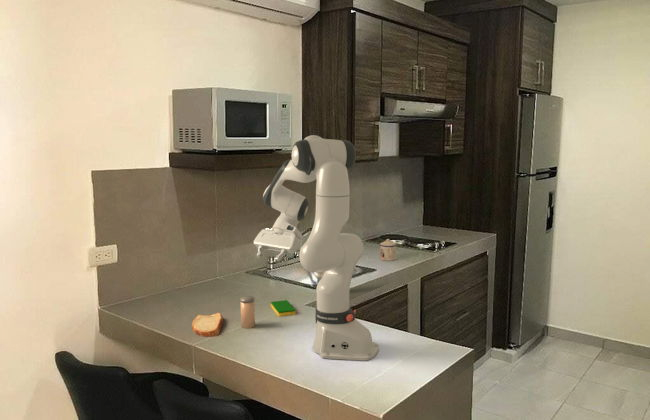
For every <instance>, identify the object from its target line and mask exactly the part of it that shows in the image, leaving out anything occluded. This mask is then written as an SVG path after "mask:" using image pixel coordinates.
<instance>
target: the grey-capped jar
mask: <svg viewBox="0 0 650 420" xmlns="http://www.w3.org/2000/svg"><path fill="white" fill-rule="evenodd" d="M239 303H240V326H241V328H242V329H253V328H255V326H256V316H255V315H256V314H255V311H256V310H255V296H252V295H245V296H241V297H239Z"/></svg>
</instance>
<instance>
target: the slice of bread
mask: <svg viewBox="0 0 650 420" xmlns="http://www.w3.org/2000/svg"><path fill="white" fill-rule="evenodd" d="M223 323H224V318H223V316H222V314H221V313H220V312H217V313H213V314H210V315H206V314H198V315H197V316H195V318H194V319H193V320H192V322H191V329H192V332H193V333H194V334H195V335H196V336H200V337H204V338H213V337H217V336H218V335H219V334H220V332H221V330H222V327H223Z"/></svg>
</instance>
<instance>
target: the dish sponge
mask: <svg viewBox="0 0 650 420" xmlns="http://www.w3.org/2000/svg"><path fill="white" fill-rule="evenodd" d="M270 307H271V309H272V310H273V312H274V313H275V314H276V316H278V317H287V316H295V315H296V309H295V307H294V306H293V305H292V304H291V303H290V302H289V301H288V300H287V299H285V300H277V301H276V300H275V301H270Z"/></svg>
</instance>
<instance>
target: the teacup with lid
mask: <svg viewBox="0 0 650 420" xmlns="http://www.w3.org/2000/svg"><path fill="white" fill-rule="evenodd" d="M379 246H380V250H379V251H380V252H379V253H380V254H379V255H380V260H381V261H385V262H392V261H395V260H396V258H397V255H396V254H397V251H396V250H397V248H396V246H397V243H396V242H393V241H392V240H390V239H389V238H387V239H386V240H385V241H382V242H380V243H379Z"/></svg>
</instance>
